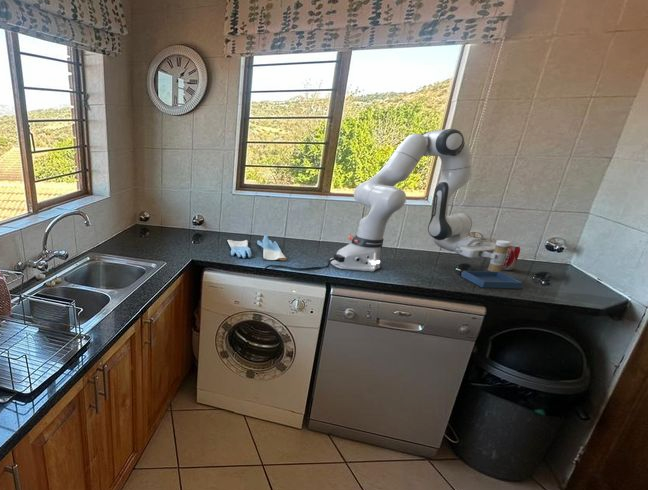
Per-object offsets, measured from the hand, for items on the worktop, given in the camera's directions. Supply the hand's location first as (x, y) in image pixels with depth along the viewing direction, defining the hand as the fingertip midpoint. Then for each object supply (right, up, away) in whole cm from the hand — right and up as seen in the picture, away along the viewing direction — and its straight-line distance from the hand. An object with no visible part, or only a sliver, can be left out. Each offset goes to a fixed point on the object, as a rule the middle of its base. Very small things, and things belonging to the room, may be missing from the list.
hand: (501, 256), depth 171 cm
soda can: (+21, -5, +22) cm, 31 cm away
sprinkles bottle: (0, -6, +4) cm, 7 cm away
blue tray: (0, -11, +5) cm, 12 cm away
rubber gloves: (-93, +6, +46) cm, 104 cm away
